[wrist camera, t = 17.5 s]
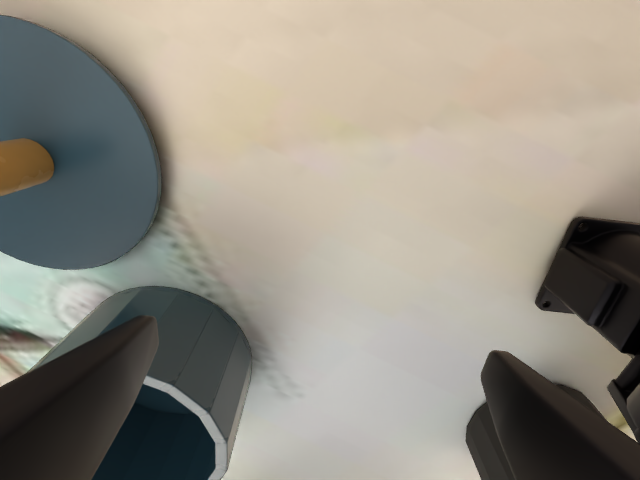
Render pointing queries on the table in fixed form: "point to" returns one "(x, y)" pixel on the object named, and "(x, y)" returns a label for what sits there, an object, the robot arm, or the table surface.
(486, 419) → the vase
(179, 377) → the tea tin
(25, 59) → the lid
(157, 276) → the table surface
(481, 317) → the table surface
